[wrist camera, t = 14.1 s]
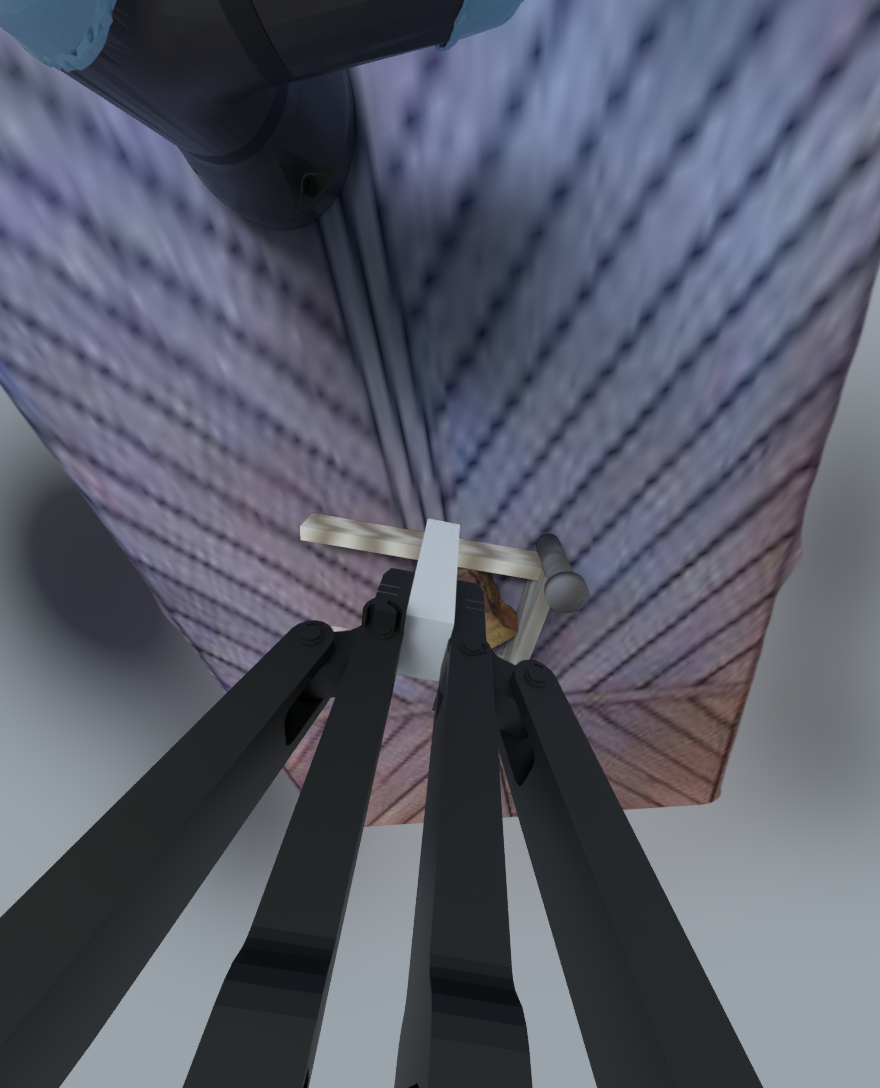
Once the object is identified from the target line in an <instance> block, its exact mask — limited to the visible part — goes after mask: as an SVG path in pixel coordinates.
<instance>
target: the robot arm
mask: <svg viewBox="0 0 880 1088" xmlns="http://www.w3.org/2000/svg"><path fill="white" fill-rule="evenodd" d="M523 1H524V0H0V27H1V28H3V29H4V30H5V31H7V32H8V33H9V34H10V35H11V36H12V37H13V38H14V39H15V40H16V41H18V42H19V43H20V44H21V46H22V47H23V48H24V49H25V50H26V51H27V52H28V53H30V54H31V55H32V56H34V57H35V58H37V59H38V60H40V61H41V62H43V63H45V64H46V65H48V66H50V67H55V68H56V69H58V70H59V71H60V70H61V71H62V72H64V73H65V74H67V75H68V76H70V77H72V78H73V79H75V80H76V81H78V82H79V83H81V84H82V85H84V86H86V87H87V88H89V89H90V90H92V91H93V92H95V93H96V94H98V95H99V96H101V97H103V98H104V99H106V100H107V101H109V102H110V103H112V104H113V105H115V106H116V107H118V108H120V109H121V110H123V111H124V112H126V113H127V114H129V115H130V116H132V117H133V118H135V119H137V120H138V121H140V122H141V123H143V124H144V125H146V126H147V127H149V128H150V129H152V130H153V131H155V132H156V133H158V134H159V135H161V136H162V137H164V138H165V139H167V140H168V141H170V142H171V143H173V144H175V145H176V146H177V147H178V148H179V149H180V151H181V152H182V153H183V155H184V157H185V158H186V160H187V161H188V163H189V164H190V166H191V167H192V169H193V170H194V172H195V173H196V174H197V176H198V177H199V178H200V180H201V181H202V182H203V183H204V184H205V186H206V187H207V188H208V189H209V190H210V191H211V192H212V193H213V194H214V195H215V196H216V197H217V198H218V199H219V200H221V201H222V202H223V203H224V204H225V205H227V206H228V207H229V208H231V209H232V210H234V211H235V212H237V213H239V214H240V215H242V216H244V217H246V218H248V219H249V220H251V221H253V222H255V223H258V224H260V225H263V226H266V227H269V228H274V229H293V228H298V227H301V226H304V225H307V224H309V223H311V222H312V221H314V220H316V219H317V218H318V217H320V216H321V215H322V214H323V213H324V212H325V211H326V210H327V209H328V208H329V207H330V206H331V204H332V203H333V202H334V200H335V199H336V197H337V196H338V194H339V192H340V190H341V188H342V186H343V184H344V182H345V179H346V176H347V174H348V170H349V167H350V163H351V158H352V153H353V147H354V136H355V112H354V101H353V94H352V88H351V83H350V78H349V74H348V70H347V68H351V67H355V66H358V65H362V64H366V63H370V62H374V61H377V60H381V59H385V58H389V57H393V56H397V55H400V54H404V53H408V52H412V51H416V50H419V49H423V48H427V47H431V46H436V48H437V50H438V51H447V50H449V49H450V48H451V47H452V46H453V45H455V44H456V43H457V42H458V40H460V39H463V38H466V37H469V36H472V35H475V34H478V33H481V32H484V31H487V30H490V29H493V28H496V27H498V26H500V25H502V24H504V23H505V22H506V21H508V20H509V19H510V18H511V17H512V16H513V15H514V13H515V12H516V10H517V9H518V7H519V5H520V4H521V3H522V2H523ZM459 530H460V525H459V524H454V523H449V522H444V521H438V520H433V519H428V520H427V525H426V529H425V533H424V538H423V542H422V546H421V551H420V555H419V559H418V564H417V568H416V572H410V571H405V570H400V569H394V568H391V569H390V570H388V571H387V572H386V573H385V574H384V575H383V578H382V581H381V584H380V586H379V589H378V592H377V594H376V597H375V598H374V599H372V600H370V601H368V602H367V603H366V604H365V606H364V607H363V615H362V625H361V626H359V627H358V628H355V629H352V630H347V631H336V632H334V631H333V629H332V628H331V626H329V625H328V624H326V623H324V622H321V621H316V620H315V621H306V622H303V623H300V624H298V625H296V626H295V627H293V628H292V629H291V630H290V631H289V632H288V633H287V634H286V635H285V636H284V637H283V638H282V639H281V640H280V641H279V642H278V643H277V644H276V645H275V646H274V647H273V648H272V649H271V650H270V651H269V652H268V653H267V654H266V655H265V656H264V657H263V658H262V659H261V660H260V661H259V662H258V663H257V664H256V665H255V666H254V667H253V668H252V669H251V670H250V671H249V672H248V673H247V674H246V675H245V676H244V677H242V678H241V679H240V680H239V681H238V682H237V683H236V684H235V685H234V686H233V687H232V688H231V689H230V690H229V691H228V692H227V693H226V694H225V695H224V696H223V697H222V698H221V699H220V700H219V701H218V702H217V703H216V704H215V705H214V706H213V707H212V708H211V709H210V710H209V711H208V712H207V713H206V714H205V715H204V716H203V717H202V718H201V719H200V720H199V721H198V722H197V723H196V724H195V725H194V726H193V727H192V728H191V729H190V730H189V731H188V732H187V733H186V734H185V735H184V736H183V737H182V738H181V739H180V740H179V741H178V742H177V743H176V744H175V745H174V746H173V747H172V748H171V749H170V750H169V751H168V752H167V753H166V754H165V755H164V756H163V757H162V758H161V759H160V760H159V761H158V762H157V763H156V764H155V765H154V766H153V767H152V768H151V769H150V770H149V771H148V772H147V773H146V774H145V775H144V776H143V777H142V778H141V779H140V780H139V781H138V782H137V783H136V784H135V785H134V786H133V787H132V788H131V789H130V790H129V791H128V792H127V793H126V794H125V795H124V796H122V798H120V800H118V801H117V802H116V803H115V804H114V805H113V806H112V807H111V808H110V809H109V811H107V812H106V814H104V815H103V816H102V817H101V818H100V819H99V820H98V821H97V822H96V823H95V824H94V825H93V826H92V827H91V828H90V829H89V830H88V831H87V832H86V833H85V834H84V835H83V836H82V837H81V838H80V839H79V840H78V841H77V842H76V843H75V844H74V845H73V846H72V847H71V848H70V849H69V850H68V851H67V852H66V853H65V854H64V855H63V856H62V857H61V858H60V859H59V860H58V861H57V862H56V863H55V864H54V865H53V866H52V867H51V868H50V869H49V870H48V871H47V872H46V873H45V874H44V875H43V876H42V877H41V878H40V879H39V880H38V881H37V882H36V883H35V884H34V885H33V886H32V887H31V888H30V889H29V890H28V891H27V892H26V893H25V894H24V895H23V896H22V897H21V898H20V899H19V900H18V901H17V902H16V903H15V904H14V905H13V906H12V907H11V908H10V909H9V910H8V911H7V912H6V913H5V914H4V915H3V916H1V917H0V1088H59V1087H60V1085H61V1084H62V1083H63V1081H64V1080H65V1079H66V1077H67V1076H68V1075H69V1073H70V1072H71V1071H72V1069H73V1068H74V1066H75V1065H76V1064H77V1062H78V1061H79V1060H80V1058H81V1057H82V1055H83V1054H84V1053H85V1051H86V1050H87V1049H88V1047H89V1046H90V1045H91V1043H92V1042H93V1040H94V1039H95V1037H96V1036H97V1035H98V1033H99V1032H100V1030H101V1029H102V1027H103V1026H104V1024H105V1023H106V1022H107V1020H108V1019H109V1017H110V1015H111V1014H112V1013H113V1011H114V1010H115V1009H116V1007H117V1006H118V1004H119V1003H120V1001H121V1000H122V998H123V997H124V996H125V994H126V993H127V991H128V990H129V988H130V987H131V985H132V984H133V983H134V981H135V980H136V978H137V977H138V975H139V974H140V972H141V971H142V970H143V968H144V967H145V965H146V964H147V962H148V961H149V959H150V958H151V957H152V955H153V953H154V952H155V951H156V949H157V948H158V946H159V945H160V944H161V942H162V941H163V939H164V938H165V936H166V935H167V933H168V932H169V931H170V929H171V928H172V926H173V925H174V923H175V922H176V920H177V919H178V918H179V916H180V914H181V913H182V912H183V910H184V909H185V907H186V906H187V905H188V903H189V902H190V900H191V899H192V897H193V896H194V894H195V893H196V891H197V890H198V889H199V887H200V886H201V884H202V883H203V881H204V880H205V879H206V877H207V876H208V874H209V873H210V871H211V870H212V868H213V867H214V865H215V864H216V863H217V861H218V860H219V858H220V857H221V855H222V854H223V853H224V851H225V850H226V848H227V847H228V845H229V844H230V842H231V841H232V839H233V838H234V837H235V835H236V834H237V832H238V831H239V829H240V828H241V827H242V825H243V824H244V822H245V821H246V819H247V818H248V816H249V815H250V813H251V812H252V810H253V809H254V808H255V806H256V805H257V803H258V802H259V800H260V799H261V798H262V796H263V795H264V793H265V792H266V790H267V789H268V787H269V786H270V785H271V783H272V782H273V780H274V779H275V777H276V776H277V775H278V773H279V772H280V770H281V769H282V767H283V766H284V764H285V763H286V762H287V760H288V759H289V757H290V756H291V754H292V753H293V751H294V750H295V749H296V747H297V746H298V744H299V743H300V741H301V740H302V738H303V737H304V736H305V734H306V733H307V731H308V730H309V728H310V727H311V725H312V724H313V723H314V721H315V720H316V718H317V717H318V715H319V714H320V712H321V711H322V710H323V708H324V707H325V705H326V704H327V702H328V701H329V699H330V698H332V697H336V698H335V700H334V703H333V706H332V708H331V711H330V714H329V717H328V719H327V722H326V725H325V727H324V730H323V733H322V736H321V738H320V741H319V744H318V747H317V749H316V752H315V755H314V757H313V760H312V763H311V766H310V768H309V771H308V774H307V776H306V779H305V782H304V785H303V787H302V790H301V793H300V796H299V798H298V801H297V804H296V806H295V809H294V812H293V815H292V817H291V820H290V823H289V825H288V828H287V831H286V834H285V836H284V839H283V842H282V845H281V847H280V850H279V853H278V855H277V858H276V861H275V864H274V866H273V869H272V872H271V874H270V877H269V880H268V883H267V885H266V888H265V891H264V894H263V896H262V899H261V902H260V904H259V907H258V910H257V913H256V915H255V918H254V921H253V924H252V926H251V929H250V931H249V934H248V936H247V938H246V941H245V943H244V945H243V947H242V948H241V950H240V952H239V953H238V955H237V956H236V958H235V959H234V961H233V963H232V965H231V967H230V969H229V971H228V973H227V975H226V977H225V979H224V982H223V984H222V987H221V989H220V992H219V994H218V997H217V999H216V1001H215V1004H214V1006H213V1009H212V1012H211V1015H210V1017H209V1020H208V1022H207V1025H206V1028H205V1030H204V1033H203V1035H202V1038H201V1041H200V1043H199V1046H198V1049H197V1051H196V1054H195V1057H194V1059H193V1062H192V1065H191V1067H190V1070H189V1072H188V1075H187V1078H186V1080H185V1083H184V1085H183V1088H308V1087H309V1082H310V1078H311V1073H312V1069H313V1064H314V1059H315V1055H316V1050H317V1045H318V1040H319V1035H320V1031H321V1026H322V1021H323V1016H324V1011H325V1006H326V1000H327V996H328V991H329V986H330V981H331V977H332V972H333V967H334V963H335V958H336V953H337V949H338V944H339V939H340V935H341V930H342V925H343V921H344V916H345V911H346V907H347V902H348V897H349V893H350V888H351V883H352V879H353V874H354V869H355V865H356V860H357V855H358V850H359V846H360V841H361V837H362V832H363V827H364V823H365V818H366V813H367V809H368V804H369V799H370V795H371V790H372V785H373V781H374V776H375V771H376V767H377V762H378V757H379V753H380V748H381V743H382V739H383V734H384V729H385V725H386V720H387V715H388V711H389V706H390V701H391V697H392V692H393V687H394V682H395V676H396V674H399V675H404V676H409V677H415V678H420V679H426V680H431V681H436V682H438V681H439V677H440V681H439V688H438V691H437V695H436V698H435V702H434V706H433V709H432V710H434V711H435V713H434V724H433V734H432V744H431V754H430V764H429V775H428V785H427V795H426V805H425V815H424V826H423V836H422V847H421V857H420V867H419V878H418V888H417V897H416V907H415V918H414V928H413V938H412V949H411V959H410V970H409V979H408V989H407V998H406V1006H405V1012H404V1017H403V1023H402V1028H401V1035H400V1042H399V1049H398V1058H397V1067H396V1076H395V1086H394V1088H532V1077H531V1065H530V1052H529V1044H528V1035H527V1027H526V1022H525V1018H524V1013H523V1008H522V1005H521V1003H520V1001H519V998H518V996H517V993H516V991H515V987H514V982H513V975H512V965H511V949H510V932H509V917H508V901H507V886H506V869H505V854H504V837H503V822H502V806H501V790H500V774H499V758H498V749H499V753H500V756H501V760H502V763H503V766H504V770H505V773H506V777H507V780H508V784H509V787H510V790H511V794H512V797H513V801H514V804H515V808H516V811H517V814H518V818H519V821H520V825H521V828H522V832H523V834H524V838H525V841H526V845H527V849H528V852H529V855H530V859H531V862H532V866H533V869H534V872H535V876H536V879H537V883H538V886H539V890H540V893H541V897H542V900H543V903H544V907H545V910H546V914H547V917H548V921H549V924H550V928H551V931H552V934H553V938H554V941H555V945H556V948H557V951H558V955H559V958H560V961H561V965H562V968H563V972H564V976H565V979H566V982H567V986H568V989H569V993H570V996H571V999H572V1003H573V1006H574V1010H575V1013H576V1016H577V1020H578V1024H579V1027H580V1030H581V1034H582V1037H583V1041H584V1044H585V1048H586V1051H587V1054H588V1058H589V1061H590V1065H591V1068H592V1071H593V1075H594V1078H595V1082H596V1085H597V1088H763V1086H762V1085H761V1082H760V1081H759V1079H758V1077H757V1074H756V1073H755V1071H754V1069H753V1067H752V1065H751V1063H750V1061H749V1059H748V1057H747V1055H746V1053H745V1051H744V1049H743V1047H742V1045H741V1043H740V1041H739V1039H738V1037H737V1035H736V1033H735V1031H734V1029H733V1027H732V1025H731V1023H730V1021H729V1019H728V1017H727V1015H726V1013H725V1011H724V1009H723V1007H722V1005H721V1003H720V1001H719V1000H718V997H717V995H716V993H715V991H714V989H713V987H712V985H711V983H710V981H709V980H708V978H707V976H706V974H705V972H704V970H703V968H702V966H701V964H700V962H699V960H698V958H697V956H696V954H695V952H694V950H693V948H692V946H691V944H690V942H689V940H688V938H687V936H686V934H685V932H684V930H683V928H682V926H681V924H680V922H679V920H678V918H677V916H676V914H675V912H674V910H673V908H672V906H671V905H670V902H669V900H668V899H667V896H666V894H665V893H664V890H663V889H662V887H661V885H660V883H659V881H658V879H657V877H656V875H655V873H654V871H653V869H652V867H651V865H650V863H649V861H648V859H647V857H646V855H645V853H644V851H643V849H642V847H641V845H640V843H639V841H638V839H637V837H636V835H635V833H634V831H633V829H632V827H631V825H630V823H629V821H628V819H627V817H626V815H625V813H624V811H623V809H622V807H621V805H620V803H619V802H618V800H617V798H616V796H615V794H614V792H613V790H612V788H611V786H610V784H609V782H608V780H607V778H606V776H605V774H604V772H603V770H602V768H601V766H600V764H599V762H598V760H597V758H596V756H595V754H594V752H593V750H592V748H591V746H590V744H589V742H588V740H587V738H586V736H585V734H584V732H583V730H582V728H581V726H580V724H579V722H578V720H577V718H576V716H575V714H574V713H573V711H572V709H571V707H570V705H569V703H568V701H567V699H566V697H565V695H564V693H563V691H562V689H561V687H560V685H559V683H558V681H557V679H556V677H555V675H554V674H553V673H552V671H551V670H550V669H549V668H548V667H546V666H545V665H544V664H542V663H540V662H537V661H534V660H522V661H520V662H519V663H518V664H516V665H514V664H512V663H510V662H508V661H506V660H504V659H502V658H500V657H499V656H497V655H496V654H495V653H494V652H493V651H492V650H491V647H490V645H489V643H488V642H487V639H486V623H485V604H484V592H483V591H482V589H481V587H480V586H479V584H476V583H471V582H466V581H461V580H457V566H458V548H459Z"/></svg>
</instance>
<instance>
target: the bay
mask: <svg viewBox="0 0 880 1088" xmlns="http://www.w3.org/2000/svg"><path fill="white" fill-rule="evenodd" d="M300 533H301V540H305V541H311V542H316V543H322V544H328V545H334V546H340V547H345V548H351V549H357V550H363V551H369V552H375V553H380V554H386V555H392V556H398V557H404V558H409V559H415V560H418V559H419V555H420V551H421V546H422V542H423V538H424V533H425V532H419V531H414V530H408V529H402V528H396V527H391V526H385V525H379V524H373V523H367V522H362V521H356V520H350V519H344V518H338V517H333V516H327V515H321V514H315V513H312V514H311V515H310V516H309V517H308V518H307V519H306V520H305V522H304V523H303V524H302V525H301V526H300ZM536 547H537V550H538V552H535V551H529V550H524V549H518V548H512V547H506V546H500V545H495V544H489V543H483V542H477V541H472V540H466V539H460V538H459V548H458V566H457V567H462V568H468V569H473V570H479V571H485V572H491V573H497V574H502V575H508V576H514V577H520V578H526V579H528V580H527V583H526V586H525V589H524V592H523V595H522V598H521V601H520V604H519V607H518V610H517V613H516V619H517V626H518V634H517V635H516V636H515V637H513V638H511V639H509V640H507V642H506V645H505V648H504V651H503V654H502V655H500V654H496V655H497V656H499V657H500V658H502V659H504V660H506V661H508V662H510V663H512V664H514V665H516V664H518V663H519V662H520V661H522V660H529V659H530V657H531V654H532V652H533V649H534V647H535V644H536V642H537V639H538V637H539V634H540V632H541V629H542V627H543V624H544V622H545V619H546V616H547V614H548V611H549V609H550V607H551V608H552V609H553V610H555V611H557V612H561V613H571V612H575V611H577V610H579V609H581V608H582V607H583V606H584V605H585V604H586V603H587V602H588V599H589V590H588V588H587V586H586V583H585V581H584V579H583V578H582V577H581V576H580V575H579V574H577V573H575V572H573V571H572V569H571V566H570V564H569V562H568V560H567V557H566V555H565V553H564V551H563V548H562V546H561V544H560V542H559V539H558V538H557V537H556V536H555V535H553V534H544V535H542V536H541V537H539V539H538V540H537V542H536ZM331 628H332V629H333V631H334V632H336V631H347V630H352V629H346V628H341V627H335V626H331Z"/></svg>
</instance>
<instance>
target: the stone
mask: <svg viewBox="0 0 880 1088" xmlns="http://www.w3.org/2000/svg"><path fill="white" fill-rule="evenodd" d="M457 580H461V581H466V582H471V583H476V584H479V586H480V587H481V589H482V591H483V592H484V604H485V623H486V639H487V642H488V643H489V645H490V647H491V649H492V648H494V647H496V646H497V645H501V644H502V643H503V642H505V641H507V640H509V639H511V638H513V637H515V636H516V635H517V634H518V626H517V619H516V614H515V612H514V610H513V609H512V607H510V606H509V605H506V604H505V603H504V602H502V601H501V600H500V598H499V591H498V588H497V586H496V585H495V583H494V582H493V580H492V579H491V575H490V572H485V571H479V570H473V569H468V568H462V567H457Z"/></svg>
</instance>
